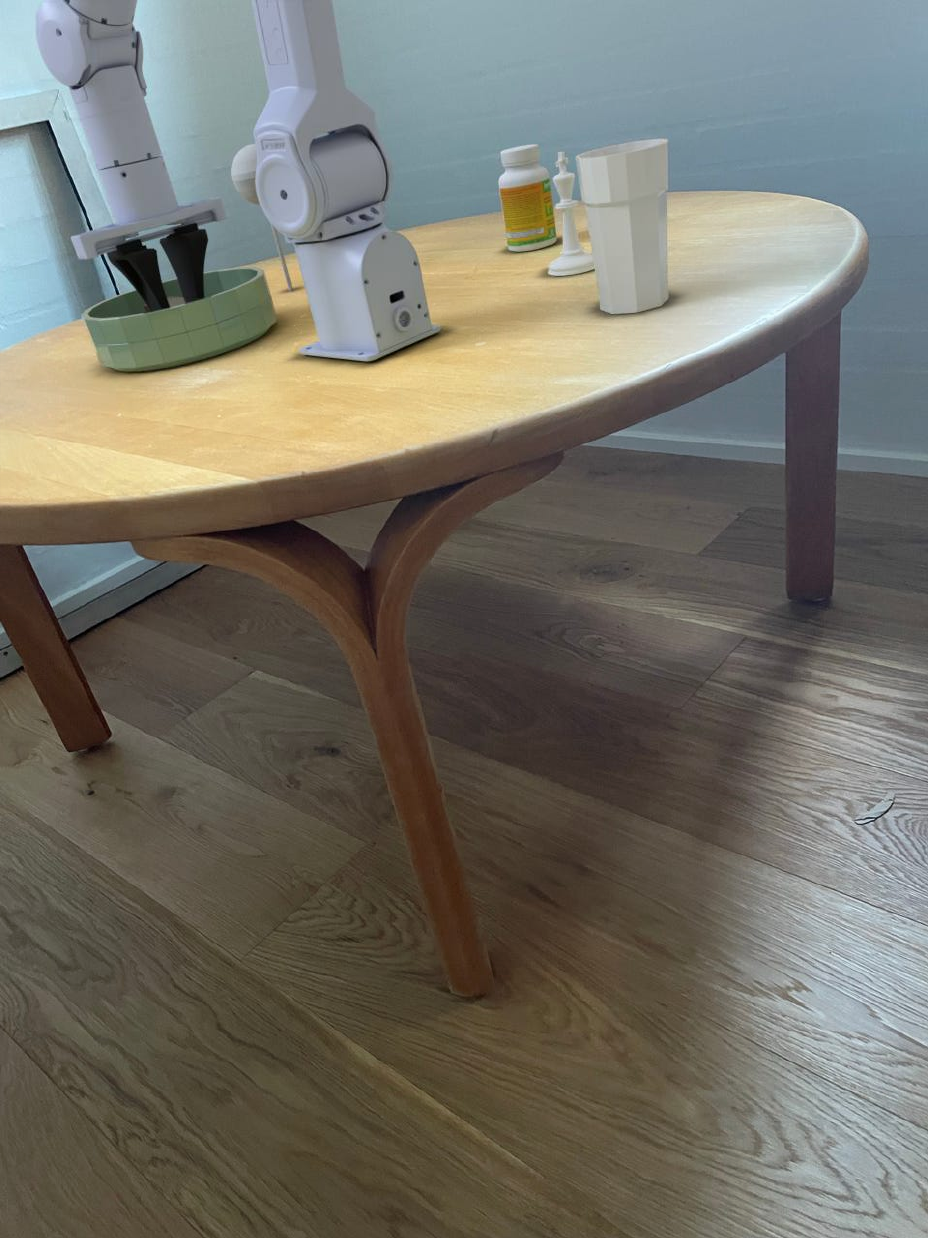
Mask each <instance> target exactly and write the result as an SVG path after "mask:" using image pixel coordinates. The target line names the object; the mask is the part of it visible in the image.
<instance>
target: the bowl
mask: <svg viewBox="0 0 928 1238" xmlns="http://www.w3.org/2000/svg"><path fill="white" fill-rule="evenodd" d="M162 284H163V288H164V291H165V294H166V297H169V296H171V297H183V295H182V292H181V289H180V285H179V282H178V279H177V277H176V278H171V279H167V280H164V281H162ZM145 304H146V303H145V302H144V300H143V299H142V297H141V296H140V294H139V293H138V292H137V290H136V289H135V288H134V289H131V290H129V291H126V292H123V293H120V294H118V295H115V296H113V297H109V298H107V299H104V300H101V301H100V302H98V303H96V304H93V305H92V306H90V307H87V308H86V310H84V312H83V313H82V314H81V315H80V317H81V320H82V322H83V323H84V327H85V329H86V331H87V334H88V337H89V339H90V342H91V344H92V347H93V350H94V352H95V355H96V357H97V360H98V362H99V364H101V366H102V367H104V368H105V367H106V368H109V369H110V368H111V369H113V370H115V371H118V372H125V373H126V372H127V373H136V372H148V371H156V370H163V369H168V368H174V367H178V366H183V365H187V364H192V363H196V362H199V361H202V360H207V359H209V358H213V357H216V356H219V355H222V354H225V353H228V352H230V351H233V350H236V349H238V348H241V347H243V346H245V345H248V344H249V343H252V342H253V341H255V340H257V339H258V338H259V339H260V337H262V336H264V335H265V334H266V333H267V332H268V331H269V330H270V328H271V326H273V325H274V324H276V322H277V312H276V308H275V305H274V301H273V298H272V295H271V290H270V287H269V284H268V280H267V276H266V274H265V269H262V268H260V267H257V266H256V267H255V266H253V267H252V266H245V267H244V266H239V267H231V268H223V269H221V268H220V269H216V270H209V271H204V298H203V299H200V300H196V301H193V302H189V303H186V304H182V305H178V306H174V307H170V308H165V309H161V310H157V311H152V312H147V313H146V311H145V309H144V305H145Z"/></svg>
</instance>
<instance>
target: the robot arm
mask: <svg viewBox="0 0 928 1238" xmlns="http://www.w3.org/2000/svg"><path fill="white" fill-rule="evenodd" d="M250 1H251V5H252V11H253V16H254V21H255V26H256V31H257V37H258V41H259V46H260V52H261V57H262V62H263V67H264V72H265V76H266V77H265V78H266V83H267V88H268V92H269V95H268V98H267V101H266V103H265V105H264V107H263V108H262V111H261V113H260V115H259V117H258V119H257V121H256V124H255V125H254V129H253V131H252V133H253V138H254V144H256V149H257V168H256V175H255V184H256V192H257V196H258V200H259V203H260V205H259V206H260V208H261V211H262V212H263V215H264V216H265V217H266V219H267V220H268V222H269V223H270V225H271V224H272V225H273V226H274V228H275V229H276V230H277V232H279V233H280V234H281V235H283V236H284V239H285V243H286V244H292V245H293V247H294V252H295V255H296V259H297V262H298V267H299V270H300V273H301V278H302V281H303V285H304V289H305V292H306V296H307V300H308V304H309V308H310V311H311V316H312V320H313V324H314V327H315V330H316V334H317V339H318V340H317V341H315V342H313V343H309V344H307V345H305V346H303V347H301V348H299V352H300V355H304V356H314V357H322V358H333V359H341V360H351V361H360V362H372V361H376V360H378V359H379V358H382V357H384V356H387V355H389V354H391V353H394V352H395V351H398V350H400V349H402V348H404V347H407V346H409V345H411V344H414V343H417V342H418V341H420V340H423V339H425V338H428V337H430V336H433V335H435V334H436V333H439V332H440V331H441V326H440V325H439V324H432V320H431V314H430V311H429V303H428V300H427V295H426V289H425V285H424V281H423V280H424V279H423V275H422V270H421V263H420V260H419V256H418V254H417V251H416V249H415V247H414V245H413V244H412V242H411V241H410V240H409V239H408V238H407V237H406V236H405V235H403V234H402V233H401V232H398V231H395V230H390V229H388V228H387V227H386V226H385V224H384V223H383V222H382V221H383V220H384V219H386V218H387V217H388V214H387V212H386V206H385V205H386V204H387V202H388V201H389V199H390V196H391V194H392V190H393V184H394V173H393V167H392V162H391V158H390V155H389V153H388V151H387V149H386V147H385V145H384V143H383V141H382V139H381V136H380V134H379V131H378V127H377V120H376V113H375V110H374V108H373V107H372V106H371V105H369V104H368V103H367V102H366V101H365V100H363V99H362V98H361V97H360V96H358V95H357V94H356V93H355V92H353V91H352V90H351V89H350V88H349V87H348V86H347V85H346V82H345V77H344V70H343V69H344V68H343V63H342V62H343V61H342V57H341V50H340V44H339V43H340V42H339V36H338V31H337V23H336V16H335V11H334V4H333V0H250ZM137 3H138V0H47V1H44V2H42V3H41V4H40V5H39V6H38V7H37V10H36V12H35V38H36V43H37V47H38V50H39V53H40V56H41V59H42V61H43V62H44V64H45V66H46V68H47V70H48V71H49V73H50V74H51V75H52V76H53V78H55V79H56V81H58V82H59V83H60V84H62V85H64V86H66V87H68V90H69V93H70V96H71V98H72V101H73V105H74V107H75V110H76V113H77V114H78V118H79V121H80V124H81V127H82V129H83V132H84V135H85V138H86V140H87V144H88V146H89V149H90V151H91V155H92V158H93V160H94V163H95V166H96V169H97V172H98V175H99V177H100V180H101V183H102V186H103V189H104V191H105V194H106V198H107V200H108V202H109V203H108V204H109V206H110V208H111V211H112V214H113V217H114V219H115V222H113V223H111V224H107V225H104V226H102V227H98V228H94V229H92V230H89V231H86V232H85V231H84V232H82V233H78V234H75V235H72V236H70V240H71V243H72V245H73V248H74V250H75V252H76V256H77V258H78V260H92V259H93V258H98V257H99V256H102V255H104V254H106V256H107V259H108V260H109V262H110V263H111V265H113V266H114V267H115V269H117V270H118V272H120V273H121V274H122V276H124V278H125V279H126V280H127V281H128V282H129V283H130V284H131V286H132V287H133V288H134V290H135V289H136V290H137V292H138V293H139V294H140V296H141V297H142V299H143V300H144V302H145V303H146V305H147V306H148V308H149V309H150V311H151V312H152V311H157V310H161V309H165V308H170V305H169V302H168V299H167V297H166V294H165V291H164V288H163V284H162V282H163V281H162V275H161V272H160V265H159V258H158V251H157V249H155V248H148V247H147V244H143V243H145V242H149V241H152V240H155V239H159V244H160V246H161V248H162V249H163V251H164V252H165V255H166V257H167V259H168V261H169V263H170V266H171V267H172V270H173V272H174V274H175V277H176V278H177V279H178V282H179V285H180V289H181V292H182V295H183V297H193V298H204V272H205V261H206V260H205V259H206V252H207V248H208V243H209V235H208V232H207V230H206V229H205V228H199V227H200V226H204V225H207V224H211V223H213V222H217V223H218V222H220V221H225V220H227V214H226V211H225V208H224V205H223V200H222V198H221V197H211V198H207V199H203V200H199V201H195V202H190V203H186V204H183V205H179V203H178V200H177V197H176V194H175V190H174V187H173V185H172V181H171V177H170V175H169V172H168V169H167V165H166V163H165V159H164V156H163V153H162V150H161V147H160V143H159V141H158V137H157V134H156V131H155V127H154V125H153V121H152V118H151V115H150V112H149V109H148V105H147V103H146V100H145V98H146V96H147V94H148V93H147V89H148V86H147V83H146V79H145V76H144V72H143V70H144V69H143V63H144V45H143V39H142V35H141V32H140V31H139V30H136V28H135V26H134V20H135V15H136V14H135V13H136V9H137ZM322 134H326V135H323V136H322ZM319 135H321V136H319ZM317 136H318V137H317ZM164 226H171V227H168V228H163V229H161V230H160V229H159V230H156V231H153V232H149V233H146V234H143V235H140V234H139V233H140V232H144V231H149V230H152V229H156V228H159V227H164Z"/></svg>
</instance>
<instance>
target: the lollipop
mask: <svg viewBox="0 0 928 1238" xmlns="http://www.w3.org/2000/svg"><path fill="white" fill-rule="evenodd" d="M256 168H257V149H256V143H250V144H248V145H245V146H243V147H242V148H241V149H240V150H238V152H237V153H236V155H234V158H233V160H232V162H231V169H230V177H231V181H232V184H233V186H234V188H235V190H236V191H237V193H238V194H239V195H240V196H241V197H242V198H243V199H244V200H245V201H247V202H249V203H250V204H254V205H256V206H257V205H259V206H260V203H259V200H258V196H257V192H256V184H255V175H256ZM270 226H271V230H272V234H273V237H274V241H275V244H276V249H277V252H278V255H279V259H280V262H281V267H282V270H283V274H284V277H285V280H286V284H287V288H288V291H289V292H292V291H294V288H293V284H292V281H291V277H290V273H289V270H288V266H287V262H286V258H285V255H284V251H283V247H282V244H281V240H280V235H279V233H278V232H279V231H278V230H276V229H275V228H274V226H273V225H272V224H271V223H270Z"/></svg>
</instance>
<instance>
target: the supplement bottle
mask: <svg viewBox="0 0 928 1238" xmlns="http://www.w3.org/2000/svg"><path fill="white" fill-rule="evenodd" d="M540 156H541V154H540V148H539V144H537V143H534V144H532V143H531V144H525V145H520V146H515V147H514V146H513V147H510V148H506V149H503V150H501V151H500V161H501V165H502V167H503V168H504V172H503V173H502V174H501V175H500V176H499V178H498V181H497V182H498V192H499V197H500V205H501V212H502V218H503V224H504V233H505V238H506V239H505V240H506V245H507V249H508V250H509V251H511V252H518V253H519V252H529V251H535V250H540V249H543V248H546V247H549V246H553V244H555V243H556V242H557V229H556V221H555V213H554V205H553V195H552V190H551V189H552V188H551V180H550V174H549V171H548V169H547V168H546V167H545V166H541V165H540V164H539V160H541V157H540Z"/></svg>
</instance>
